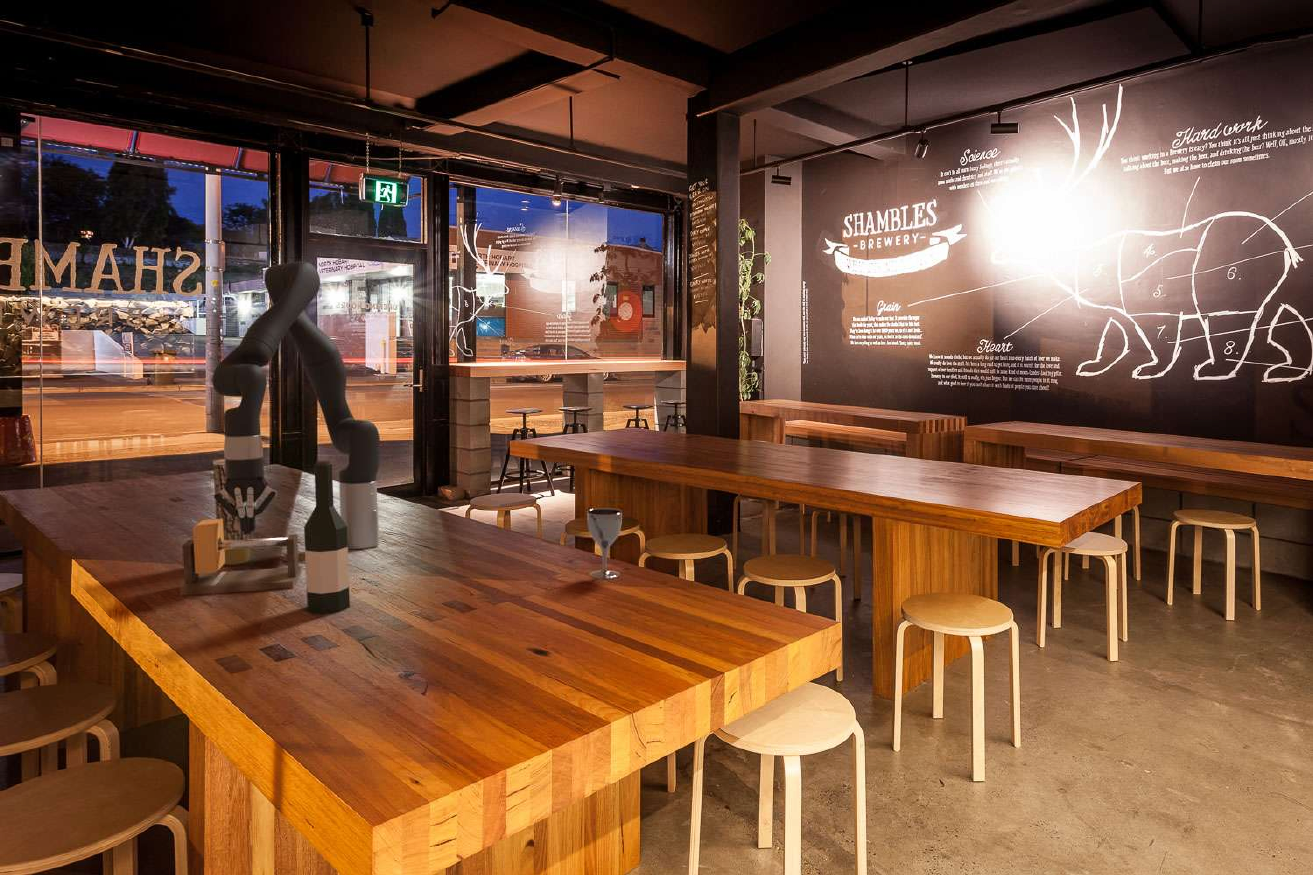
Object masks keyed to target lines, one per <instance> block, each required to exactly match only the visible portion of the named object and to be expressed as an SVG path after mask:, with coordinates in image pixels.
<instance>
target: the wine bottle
mask: <svg viewBox="0 0 1313 875" xmlns="http://www.w3.org/2000/svg"><path fill="white" fill-rule="evenodd" d="M313 465H314V468H313V469H314V489H315V491H314V492H315V507H314V509H313V511H312V512H311V514H310V516H309V518H308V519H307V521H306V523H305V524H304V527H303V533H304V534H303V537H304V556H305V560H304V562H305V581H306V601H307V604H306V605H307V611H308V613H309V614H318V615H328V614H333V613H335V614H336V613H341V612H343V611H345V610H347V609H349V608H350V607H351V604H350V603H351V601H350V600H351V598H350V596H351V595H350V576H349V575H350V574H349V573H350V572H349V549H348V541H347V526H346V524H345V523H344V521H343V520H342V518H341V517H340V513H339V512H338V511H337V509H336V508H335V506H334V482H333V481H334V480H333V464H332V463H331V462H330V460H329V459H319V460H316V464H313Z"/></svg>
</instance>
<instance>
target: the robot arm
mask: <svg viewBox="0 0 1313 875" xmlns="http://www.w3.org/2000/svg"><path fill="white" fill-rule="evenodd" d="M264 284H265V287H266V291H267V293H268V296H269V297H270V300H271V301H272V304H273V305H272V306H270V307H268V309H267V310H266V311H265V312H263V313H262V314H261V315H260V316H258V317H257V319H255V320H254V321H253V322H252V324H251V325H250V326H249V327H248V329H247V331H246V333H245V334H244V336H243V338H242V339H241V342H240V343H239V345H238V346H236V348H235V349H233V350H232V351H231V352H230V353H229V354H228V355H227V356H226V357H224V358H223V359H222V360H221V361H220V363H219V364H218V365H217V366H216V368H215V369H214V372H213V373H212V379H211V380H212V381H211V382H212V387H213V389H214V390H215V392H216V393H217V394H219V395H221V396H222V397H241V401H240V403H239V405H238V406H237V407H236V406H235V407H231V408H228V409H226V410H225V411H224V413H223V429H224V443H223V457H224V459H225V471H226V482H225V484H224V489H222V490H221V491H220V492H218V493H216V494H215V493H214V494H213V498H214V500H215V499H216V500H217V501H218V502H219V503H220V504H221V505H222V506H223V507H224V508H225V509H226V510H227V512H228V513H229V514H230V515H232V516H234V515H235V516H238V517H239V518H240V528H241V531H242V532H244V534H249V535H252V534H253V533H254V532H255V531H256V528H257V522H256V520H257V519H256V516H258V515H261V514H262V513H264V512H265V510H266V509H267V508H268V506H269V505H270V503H271V502H272V501H273V500H274V498H276V496H277V495H278V489H273V488H272V487H269V486H268V483H267V480H266V479H265V466H264V448H263V447H264V446H263V440H262V435H261V434H262V433H261V411H262V407H263V403H264V398H265V394H266V390H267V384H268V383H267V382H268V380H267V376H266V373H265V371H264V369H262V368H263V367H266V366H267V365H268V364H269V363H270V362H271V360H272V358H274V355H275V353H276V351H277V349H278V348H279V346H280V344H281V342H282V340H283V338H284V337H285V335H286V333H287V332H288V334H289V336H290V338H291V341H292V342H293V344H294V346H295V349H296V351H297V353H298V356H299V358H300V361H301V364H302V366H303V368H304V371H305V373H306V376H307V378H308V380H309V383H310V385H311V387H312V389H313V392H314V394H315V397H316V399H317V402H318V404H319V408H320V409H321V412H322V415H323V418H324V421H325V424H326V425H325V426H326V428H327V432H328V435H329V438H330V441H331V443H332V445H333V447H334V448H335V449H336V450H337V452H339V453H341V454H345V455H348V465H347V466H346V467H344V468H343V469H341V470H340V471H339V473H338V478H339V480H338V482H339V484H338V485H339V509H340V510H339V511H340V513H339V515H340V517H341V518H342V520H343V521H344V523H345V524H346V526H347V541H348V550H349V549H351V550H356V549H357V550H359V549H368V548H369V549H370V548H373V547H379V544H380V526H379V507H378V488H377V485H378V483H377V475H378V471H379V469H380V460H381V458H380V450H381V443H380V442H381V440H380V433H379V429H378V428H377V426H376V425H375V424H374V423H373V422H372V421H369V420H363V419H355V418H354V416H353V414H352V412H351V409H350V407H349V405H348V402H347V398H346V397H347V396H346V388H347V378H348V377H347V374H348V373H347V368H346V365H345V362H344V360H343V358H342V354H341V352H340V350H339V347H338V346H337V345H336V343H335V342H334V341H333V339H331V337H329V335H328V334H327V333H325V332H324V331H323V330H321V329H320V327H318V326H317V325H316V323H314V322H313V321H312V320H311V318H310V317H309V316H308V314H307V313H306V311H305V309H306V308H307V307H308V306H309V305H310V303H311V302H312V301H313V300H314V299H315V297H316V296H317V294H318V293H319V291H320V287H321V278H320V274H319V272H318V270H317V268H316V267H315V266H314V265H313V264H311V263H310V262H308V261H304V260H302V261H299V260H298V261H292V262H286V263H281V264H275V265H271V266H269V267H268V268H267V269H266V270H265V273H264ZM227 493H228V494H229V495H230V496H231V497H232V498H233V499H234V500H235V501H236V503H237V508H238V509H237V508H236V507H235V506H234V505H233V504H232V503H231V501H230V500H229V499H228V494H227ZM263 493H264V496H263V497H264V500H263V501H262V503H261V504H260V505H259V506H258V508H257V500H258V499H259V498H260V497H261V496H262V495H263ZM246 501H247V503H246ZM246 505H247V507H246Z"/></svg>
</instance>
